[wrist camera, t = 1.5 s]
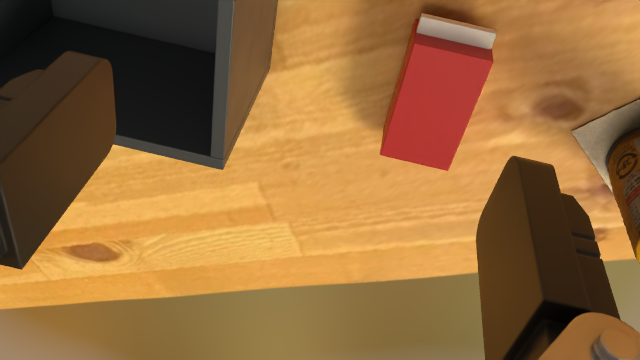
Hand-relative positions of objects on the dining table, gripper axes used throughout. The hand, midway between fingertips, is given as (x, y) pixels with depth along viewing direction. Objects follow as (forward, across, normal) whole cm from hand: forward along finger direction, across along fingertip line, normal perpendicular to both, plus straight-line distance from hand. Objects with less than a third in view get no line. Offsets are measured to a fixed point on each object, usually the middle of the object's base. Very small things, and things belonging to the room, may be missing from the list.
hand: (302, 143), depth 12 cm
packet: (+27, -6, +13) cm, 31 cm away
